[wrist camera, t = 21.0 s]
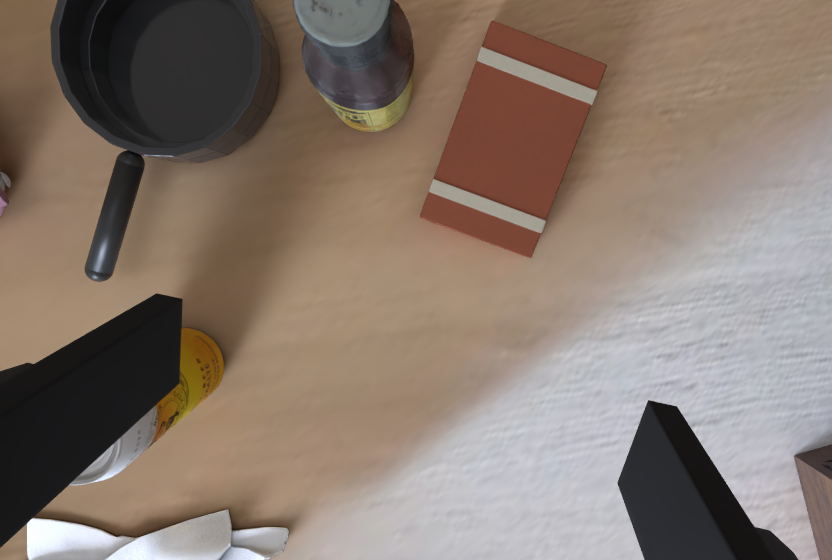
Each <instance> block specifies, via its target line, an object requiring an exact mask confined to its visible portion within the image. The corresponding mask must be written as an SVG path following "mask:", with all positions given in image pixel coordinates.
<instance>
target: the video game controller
mask: <svg viewBox="0 0 832 560" xmlns="http://www.w3.org/2000/svg"><path fill="white" fill-rule="evenodd" d="M0 174H1V175H0V216H1V215H2V213H3V212H4V210H5V208H6V205H8V204H9V200H8V198H7V195H6V192H5V184H6V185H7V186H8V188H10V187H11V181H10V179H9V177H8V176H7V175H6V174H5V173H3V172H0ZM1 176H2V177H1Z"/></svg>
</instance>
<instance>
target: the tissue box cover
mask: <svg viewBox="0 0 832 560" xmlns="http://www.w3.org/2000/svg"><path fill="white" fill-rule="evenodd" d="M794 458H795V462H796V466H797V470H798V474H799V478H800V482H801V486H802V490H803V494H804V498H805V502H806V506H807V510H808V514H809V518H810V522H811V526H812V530H813V534H814V538H815V542H816V546H817V550H818V554H819V558H820V560H832V445H829V446H825V447H822V448H819V449H815V450H812V451H809V452H805V453H802V454H798V455H795V456H794Z"/></svg>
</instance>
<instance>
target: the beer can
mask: <svg viewBox="0 0 832 560" xmlns="http://www.w3.org/2000/svg"><path fill="white" fill-rule="evenodd" d="M223 372H224V362H223V357H222V354H221V352H220V350H219V348H218V346H217V345H216V343H215V342H214V341H213V340H212V339H211V338H210V337H208V336H207V335H206V334H204V333H202V332H200V331H198V330H195V329H190V328H181V355H180V383H179V384H178V385H177V386H176V387H175V388H174V389H173V390H172V391H171V392H170V393H169V394H168V395H166V396H165V397H164V398H163V399H162V400H161V401H160V402H159V403H158V404H157V405H156V406H154V407H153V408H152V409H151V410H150V411H149V412H148V413H147V414H146V415H145V416H143V417H142V418H141V419H140V420H139V421H138V422H137V423H136V424H135V425H134V426H133V427H131V428H130V429H129V430H128V431H127V432H126V433H125V434H124V435H123V436H122V437H121V438H119V439H118V440H117V441H116V442H115V443H114V444H113V445H112V446H111V447H110V448H109V449H107V450H106V451H105V452H104V453H103V454H102V455H101V456H100V457H99V458H98V459H97V460H95V461H94V462H93V463H92V464H91V465H90V466H89V467H88V468H87V469H86V470H85V471H83V472H82V473H81V474H80V475H79V476H78V477H77V478H76V479H75V480H74V481H73V482H71V483H70V484H69V485H84V484H88V483H92V482H96V481H102V480H105V479H108V478H111V477H113V476H114V475H116V474H118V473H119V472H121V471H122V470H123V469H124V468H125V467H126V466H128V465H129V464H130V463H131V462H132V461H133V460H135V459H136V458H137V457H138V456H139V455H140V454H142V453H143V452H144V451H145V450H146V449H147V448H149V447H150V446H151V445H152V444H153V443H154V442H156V441H157V440H158V439H159V438H160V437H161V436H163V435H164V434H165V433H166V432H167V431H168V430H170V429H171V428H172V427H173V426H174V425H175V424H177V423H178V422H179V421H180V420H181V419H182V418H184V417H185V416H186V415H187V414H188V413H189V412H191V411H192V410H193V409H194V408H195V407H196V406H198V405H199V404H200V403H201V402H202V401H203V400H205V399H206V398H207V397H208V396H209V395H210V394H212V393H213V392H214V391H215V390H216V388H217V387H218V386H219V384H220V382H221V380H222V377H223Z"/></svg>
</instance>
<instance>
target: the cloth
mask: <svg viewBox="0 0 832 560" xmlns="http://www.w3.org/2000/svg"><path fill="white" fill-rule="evenodd" d="M231 529H232V525H231V520H230V515H229V509H226V510H223V511H219V512H216V513H212V514H208V515H205V516H201V517H197V518H194V519H190V520H187V521H184V522H181V523H179V524H176V525H173V526H170V527H167V528H165V529H162V530H159V531H156V532H153V533H150V534H147V535H144V536H141V537H139V538H132V537H126V536H119V537H115V536H113V535H111V534H109V533H107V532H105V531H103V530H100V529H97V528H93V527H89V526H86V525H82V524H77V523H71V522H65V521H59V520H52V519H40V518H32V519H31V520H30V521H29V522H28V523H27V553H28V559H29V560H269V559H270V558H271V557H274V556H276V555H278V554H280V553H282V552H283V551H284V548H285V545H286V542H287V539H288V536H289V531H288V529H287V528H283V527H261V528H251V529H242V530H231Z"/></svg>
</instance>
